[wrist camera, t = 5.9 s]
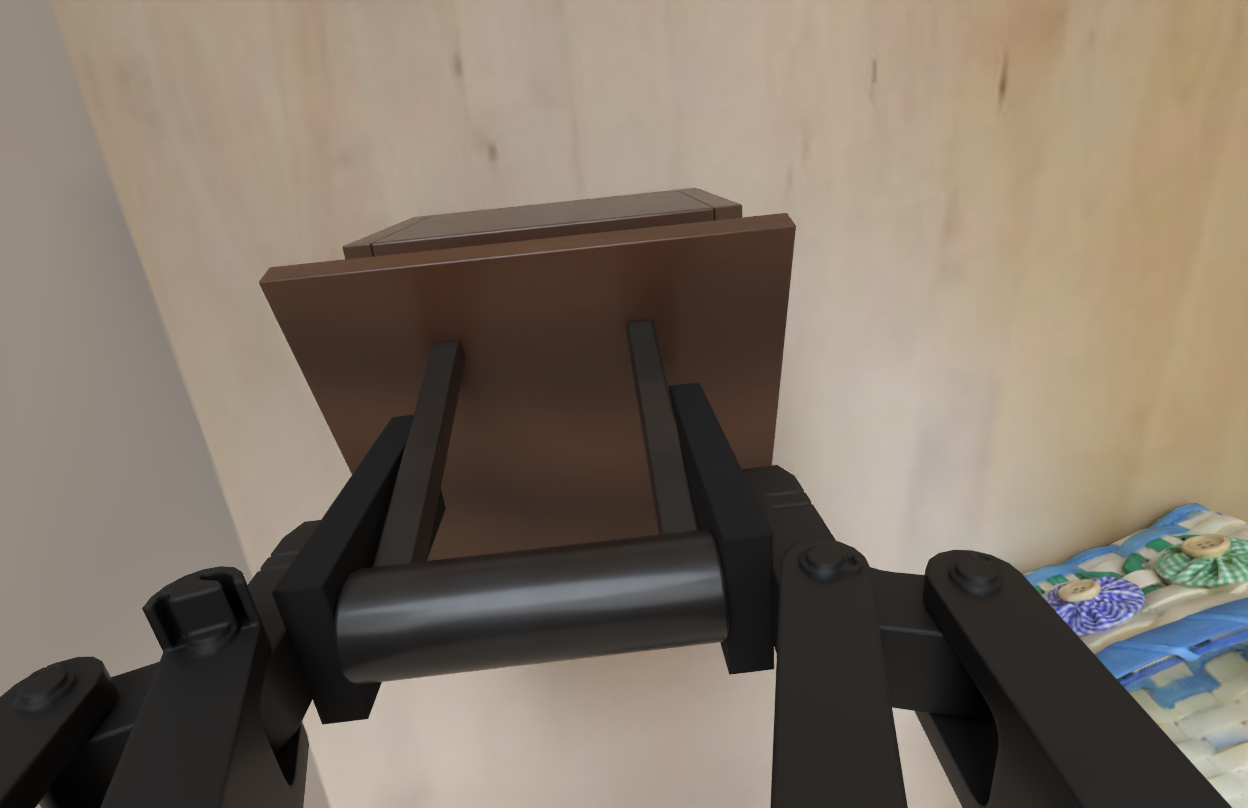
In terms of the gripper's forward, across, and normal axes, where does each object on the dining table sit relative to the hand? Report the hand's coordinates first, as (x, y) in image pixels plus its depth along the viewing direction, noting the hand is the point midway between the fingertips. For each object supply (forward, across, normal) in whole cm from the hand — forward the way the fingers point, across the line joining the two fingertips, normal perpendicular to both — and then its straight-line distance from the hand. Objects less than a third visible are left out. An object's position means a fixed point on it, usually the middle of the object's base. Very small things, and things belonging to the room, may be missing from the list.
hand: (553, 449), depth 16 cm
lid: (+4, 0, -3) cm, 5 cm away
